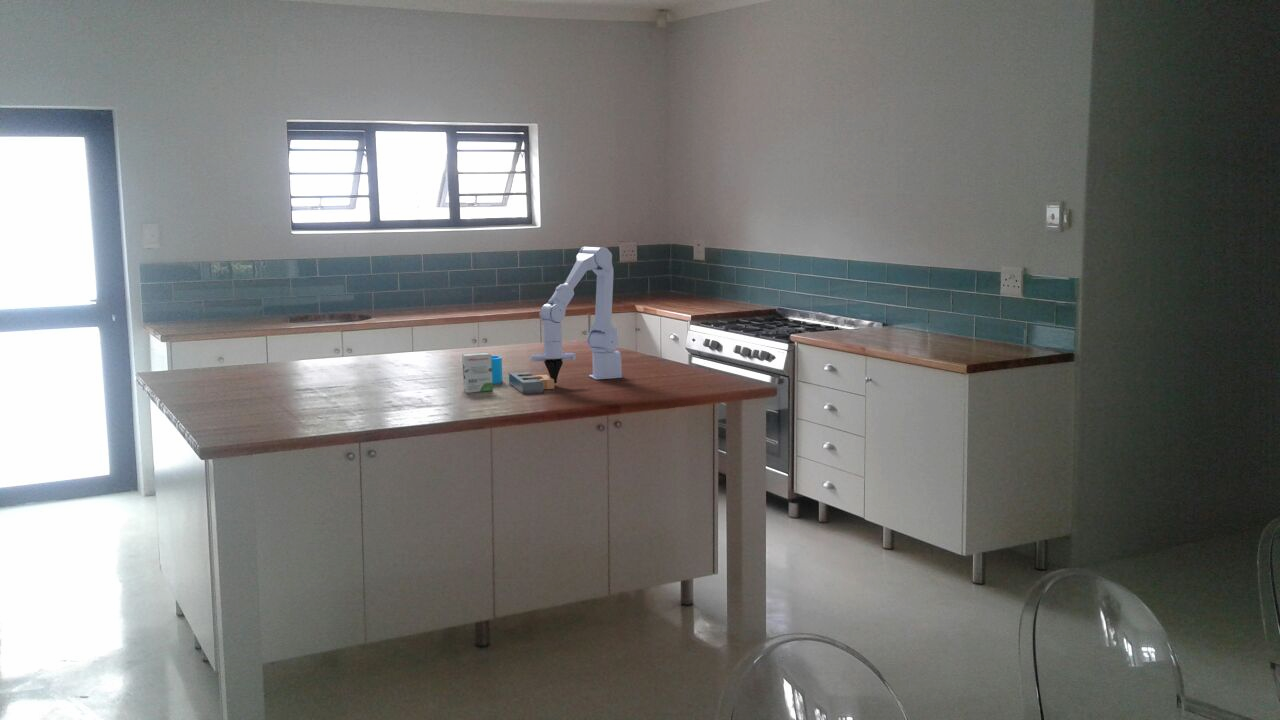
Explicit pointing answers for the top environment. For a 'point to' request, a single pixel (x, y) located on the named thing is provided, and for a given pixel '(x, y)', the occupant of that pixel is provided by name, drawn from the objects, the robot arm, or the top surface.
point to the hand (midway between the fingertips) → (553, 382)
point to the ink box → (477, 372)
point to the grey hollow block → (525, 382)
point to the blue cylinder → (496, 369)
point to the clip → (546, 381)
